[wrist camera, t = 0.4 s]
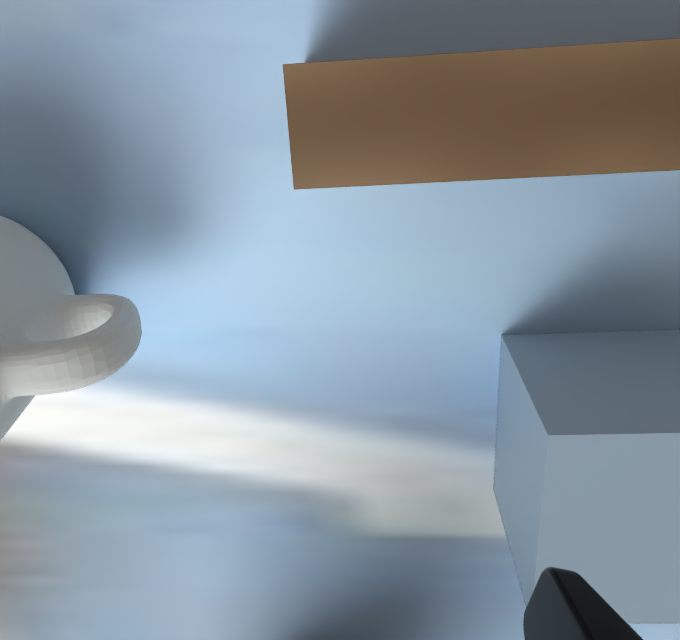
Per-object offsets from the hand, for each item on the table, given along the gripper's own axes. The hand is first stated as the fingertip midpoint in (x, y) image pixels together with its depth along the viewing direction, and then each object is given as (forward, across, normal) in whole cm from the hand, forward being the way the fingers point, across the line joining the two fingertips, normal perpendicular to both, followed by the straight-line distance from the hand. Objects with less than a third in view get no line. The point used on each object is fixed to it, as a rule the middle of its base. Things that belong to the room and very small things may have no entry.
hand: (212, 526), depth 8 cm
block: (+14, -12, +4) cm, 19 cm away
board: (+14, -9, -7) cm, 18 cm away
